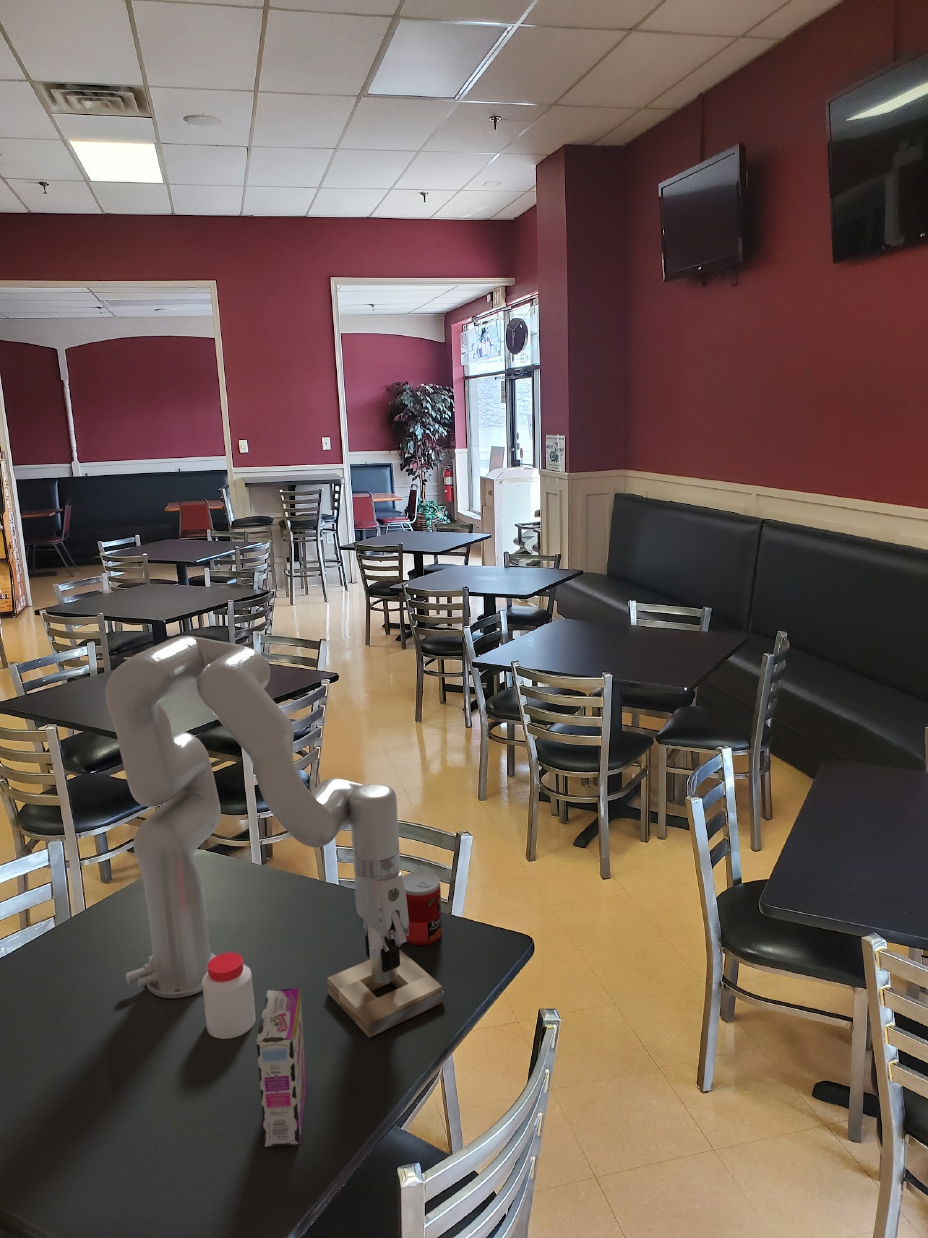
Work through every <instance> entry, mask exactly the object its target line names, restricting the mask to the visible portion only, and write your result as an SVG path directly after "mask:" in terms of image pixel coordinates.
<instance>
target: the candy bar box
mask: <svg viewBox="0 0 928 1238" xmlns="http://www.w3.org/2000/svg"><path fill="white" fill-rule="evenodd" d="M302 1009H303V1008H302V998H301V988H297V987H296V988H285V989H283V988H282V989H272V990H271V989H270V990H267V992H266V995H265V1000H264V1005H263V1009H262V1014H261V1016H260V1017H261V1018H260V1022H259V1027H258V1030H257V1037H256V1042H255V1043H256V1050H257V1051H256V1052H257V1063H258V1075H259V1077H258V1078H259V1088H260V1101H261V1112H262V1113H261V1114H262V1123H263V1124H262V1126H263V1138H264V1147H265V1148H272V1147H273V1148H274V1147H286V1146H288V1147H289V1146H297V1145H300V1142H301V1136H302V1135H301V1134H302V1126H303V1119H304V1110H305V1102H306V1101H305V1100H306V1095H307V1094H306V1093H307V1087H308V1086H307V1085H308V1084H307V1072H306V1071H307V1069H306V1058H305V1057H306V1056H305V1044H304V1043H305V1042H304V1026H303V1010H302Z"/></svg>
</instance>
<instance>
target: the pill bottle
mask: <svg viewBox="0 0 928 1238" xmlns="http://www.w3.org/2000/svg"><path fill="white" fill-rule="evenodd" d="M252 975H253V974H252V971H251V969H250V967H249V966H247V964H244V959H243V956H242V955H240V954H239V953H236V952H224V953H220V954H218V955H216V957H214V958H212V959H211V960H210V961H209V963H208V972H207V973H206V974H205V975H204V977H203V979H202V989H203V991H202V995H203V1007H204V1015H205V1022H206V1023H205V1026H206V1031H207V1032H208V1034H209V1035H210V1036H211V1037H212V1038H216V1039H222V1040H225V1039H226V1040H227V1039H234V1038H236V1037H240V1036H242V1035H244V1034H246V1033H247V1032H249V1031H250V1030H251V1029H252V1028H253V1027H254V1025H255V1023H256V1020H257V1019H256V1018H257V1016H256V1006H255V995H254V984H253V977H252Z"/></svg>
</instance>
